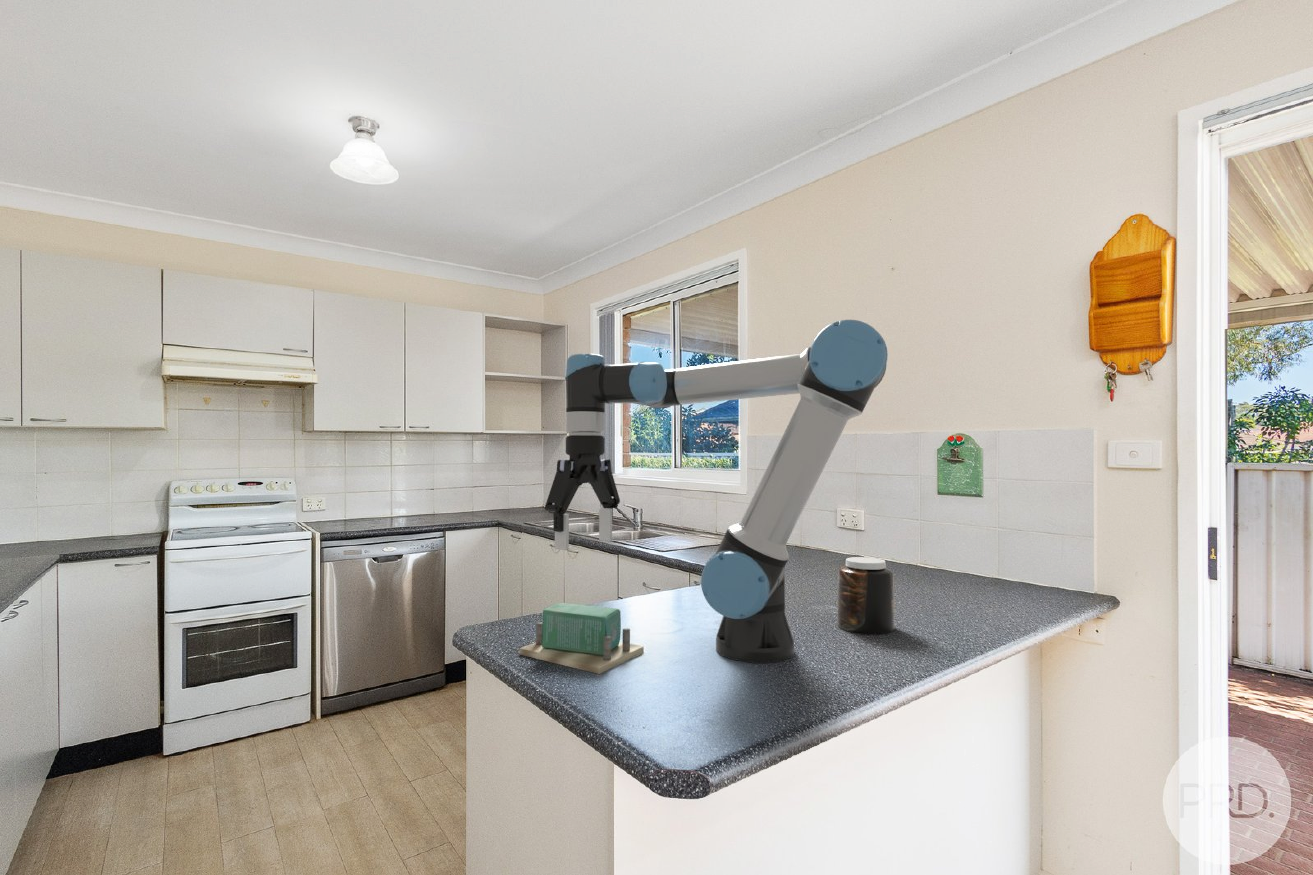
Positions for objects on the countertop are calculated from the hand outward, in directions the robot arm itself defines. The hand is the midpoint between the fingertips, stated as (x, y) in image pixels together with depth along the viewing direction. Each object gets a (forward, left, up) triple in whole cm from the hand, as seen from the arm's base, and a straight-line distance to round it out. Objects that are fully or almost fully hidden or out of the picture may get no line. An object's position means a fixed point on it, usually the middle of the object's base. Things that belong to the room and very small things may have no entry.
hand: (584, 544), depth 122 cm
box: (0, 0, -20) cm, 20 cm away
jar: (-41, -49, -21) cm, 67 cm away
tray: (0, 0, -21) cm, 21 cm away
